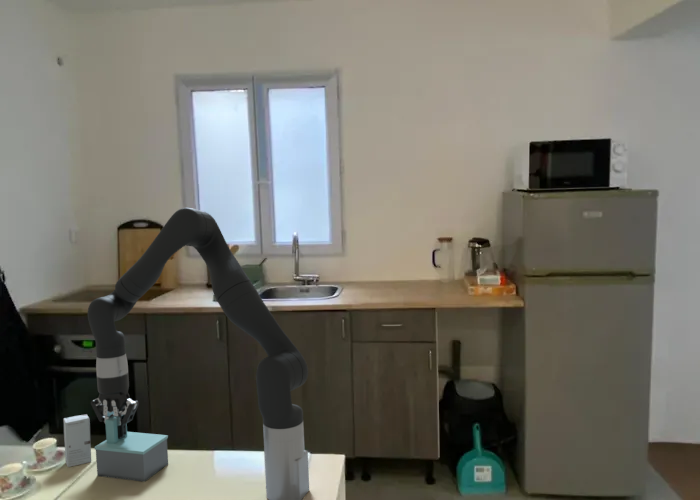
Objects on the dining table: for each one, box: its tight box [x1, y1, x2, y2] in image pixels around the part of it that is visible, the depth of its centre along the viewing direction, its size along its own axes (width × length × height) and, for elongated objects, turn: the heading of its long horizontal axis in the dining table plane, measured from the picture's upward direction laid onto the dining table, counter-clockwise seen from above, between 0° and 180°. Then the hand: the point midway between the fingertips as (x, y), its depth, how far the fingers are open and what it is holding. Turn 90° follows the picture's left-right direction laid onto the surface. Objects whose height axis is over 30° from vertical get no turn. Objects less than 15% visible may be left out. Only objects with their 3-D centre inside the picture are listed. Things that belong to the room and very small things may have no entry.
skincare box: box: [62, 413, 92, 468], centre depth 156 cm, size 6×4×12 cm
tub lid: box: [94, 416, 169, 455], centre depth 149 cm, size 14×10×8 cm
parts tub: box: [95, 438, 169, 483], centre depth 150 cm, size 14×10×7 cm
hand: (116, 437), depth 151 cm, fingers closed on tub lid, 2 cm apart
